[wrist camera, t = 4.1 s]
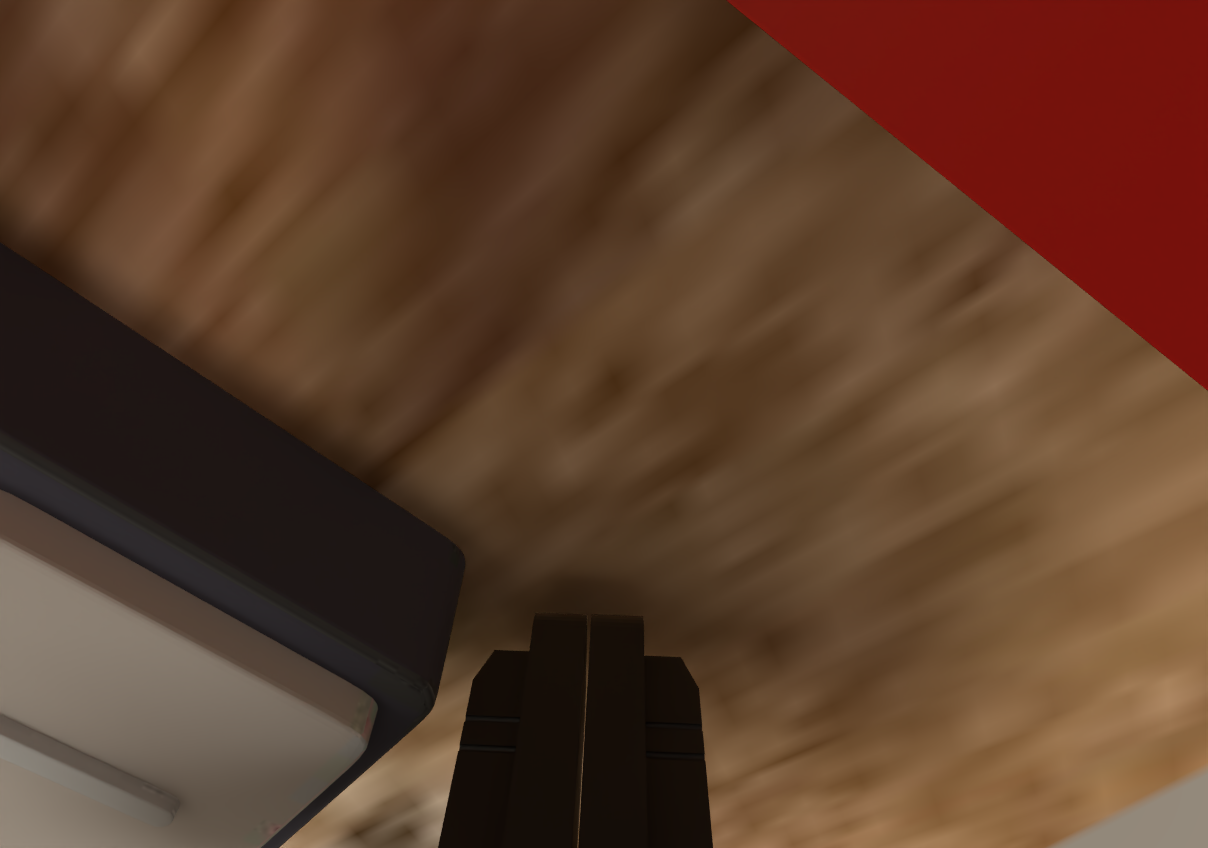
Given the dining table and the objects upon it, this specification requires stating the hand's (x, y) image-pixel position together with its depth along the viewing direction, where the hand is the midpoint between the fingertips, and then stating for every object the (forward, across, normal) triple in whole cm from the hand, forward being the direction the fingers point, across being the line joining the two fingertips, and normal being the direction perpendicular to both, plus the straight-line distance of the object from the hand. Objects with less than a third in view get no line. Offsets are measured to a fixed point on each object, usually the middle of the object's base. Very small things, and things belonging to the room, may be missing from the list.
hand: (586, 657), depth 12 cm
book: (+1, -9, -20) cm, 22 cm away
